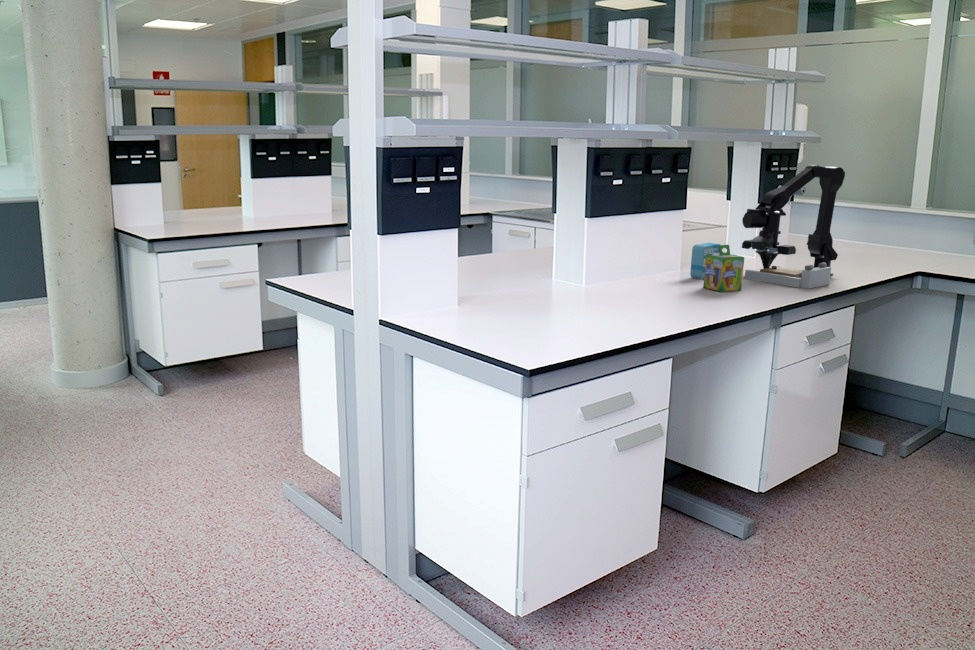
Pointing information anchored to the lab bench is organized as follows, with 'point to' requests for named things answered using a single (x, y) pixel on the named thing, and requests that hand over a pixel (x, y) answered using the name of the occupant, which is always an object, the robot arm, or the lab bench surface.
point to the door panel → (783, 271)
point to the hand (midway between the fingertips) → (765, 270)
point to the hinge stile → (815, 276)
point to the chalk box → (723, 271)
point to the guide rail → (773, 278)
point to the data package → (701, 258)
